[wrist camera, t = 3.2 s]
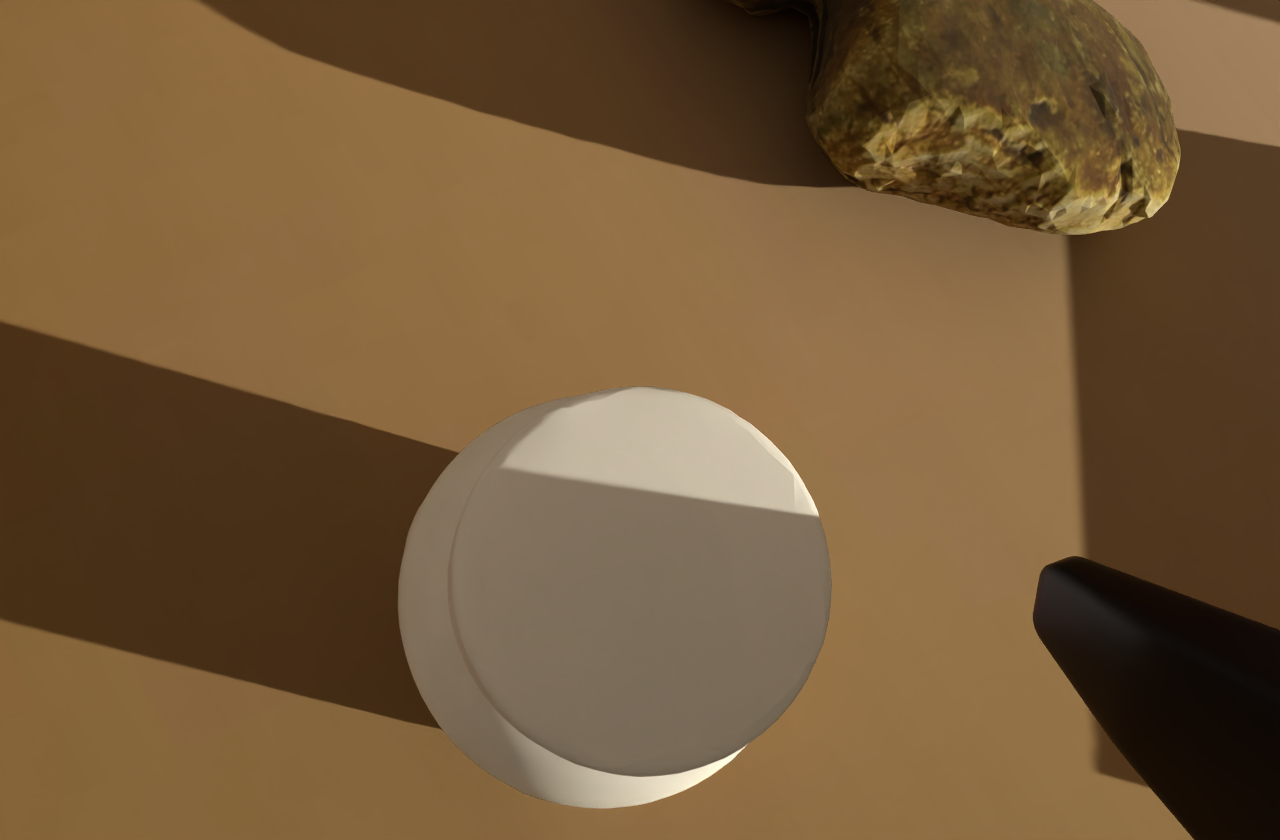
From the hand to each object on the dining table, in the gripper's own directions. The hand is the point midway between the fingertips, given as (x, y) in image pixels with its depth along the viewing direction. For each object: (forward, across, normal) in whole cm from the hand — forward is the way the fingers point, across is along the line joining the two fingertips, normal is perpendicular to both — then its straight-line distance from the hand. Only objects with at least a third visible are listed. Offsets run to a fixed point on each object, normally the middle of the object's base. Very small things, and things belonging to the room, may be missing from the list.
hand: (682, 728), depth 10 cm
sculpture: (+16, -12, -3) cm, 21 cm away
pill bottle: (+8, 0, +5) cm, 9 cm away
